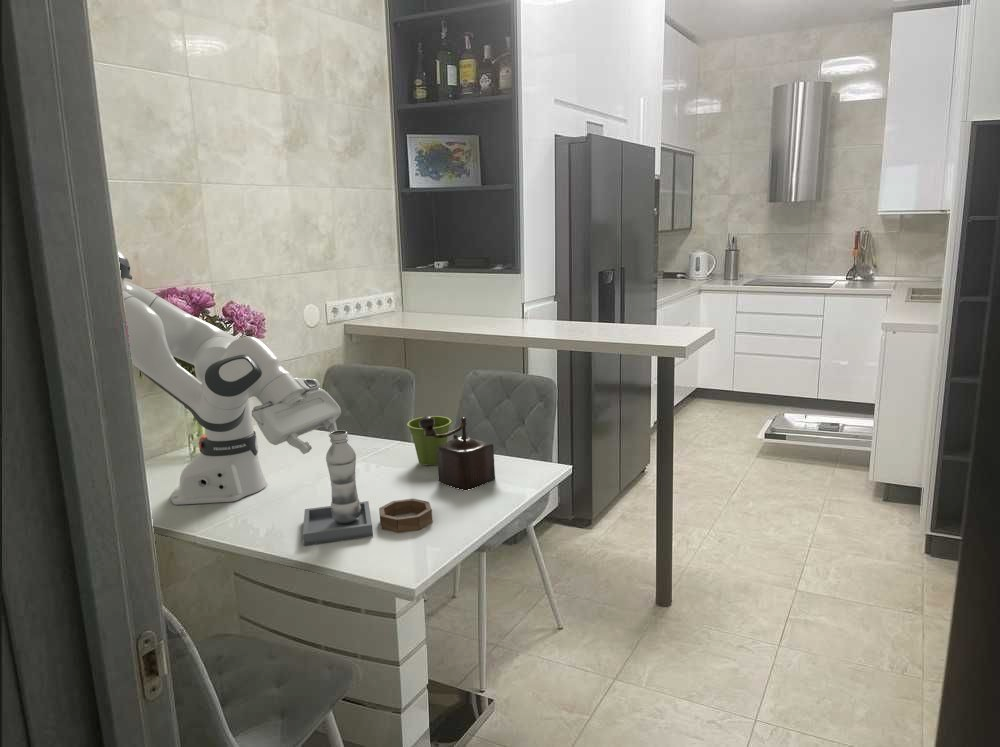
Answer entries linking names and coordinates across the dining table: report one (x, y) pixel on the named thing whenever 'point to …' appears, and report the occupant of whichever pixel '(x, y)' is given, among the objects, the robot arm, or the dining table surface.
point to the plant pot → (428, 439)
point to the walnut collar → (405, 522)
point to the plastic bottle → (342, 479)
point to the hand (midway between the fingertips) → (323, 444)
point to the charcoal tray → (334, 526)
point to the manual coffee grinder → (462, 457)
